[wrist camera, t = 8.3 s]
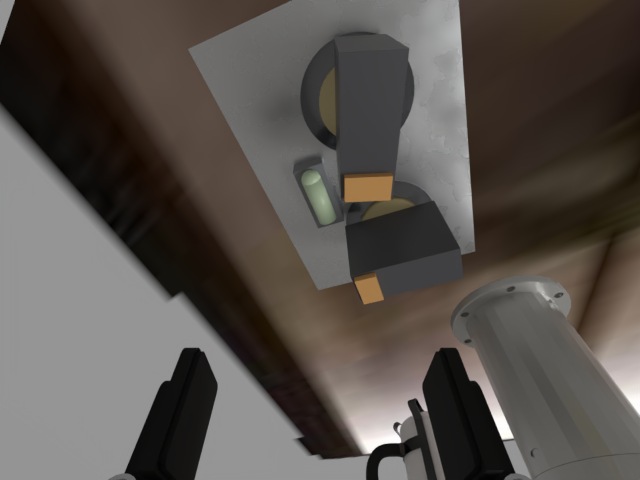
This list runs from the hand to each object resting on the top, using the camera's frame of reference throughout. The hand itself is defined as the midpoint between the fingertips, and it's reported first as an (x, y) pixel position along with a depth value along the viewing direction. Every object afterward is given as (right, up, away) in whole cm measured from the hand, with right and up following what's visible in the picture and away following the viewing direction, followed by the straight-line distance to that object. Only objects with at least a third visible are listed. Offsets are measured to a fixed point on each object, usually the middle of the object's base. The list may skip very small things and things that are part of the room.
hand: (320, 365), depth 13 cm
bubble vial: (0, +9, +11) cm, 14 cm away
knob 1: (+2, +14, +7) cm, 16 cm away
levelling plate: (+3, +11, +12) cm, 17 cm away
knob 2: (+6, +7, +13) cm, 15 cm away
